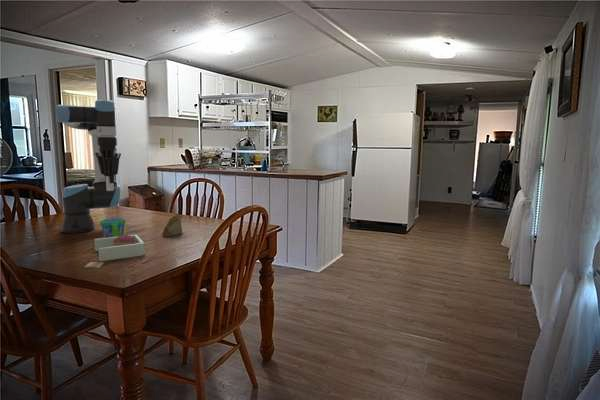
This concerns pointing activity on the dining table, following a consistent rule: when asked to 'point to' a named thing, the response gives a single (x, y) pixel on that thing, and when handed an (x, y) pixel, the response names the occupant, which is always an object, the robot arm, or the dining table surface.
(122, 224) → the snack cup
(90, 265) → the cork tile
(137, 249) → the tray
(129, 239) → the cupcake
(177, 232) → the rock
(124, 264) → the dining table surface
